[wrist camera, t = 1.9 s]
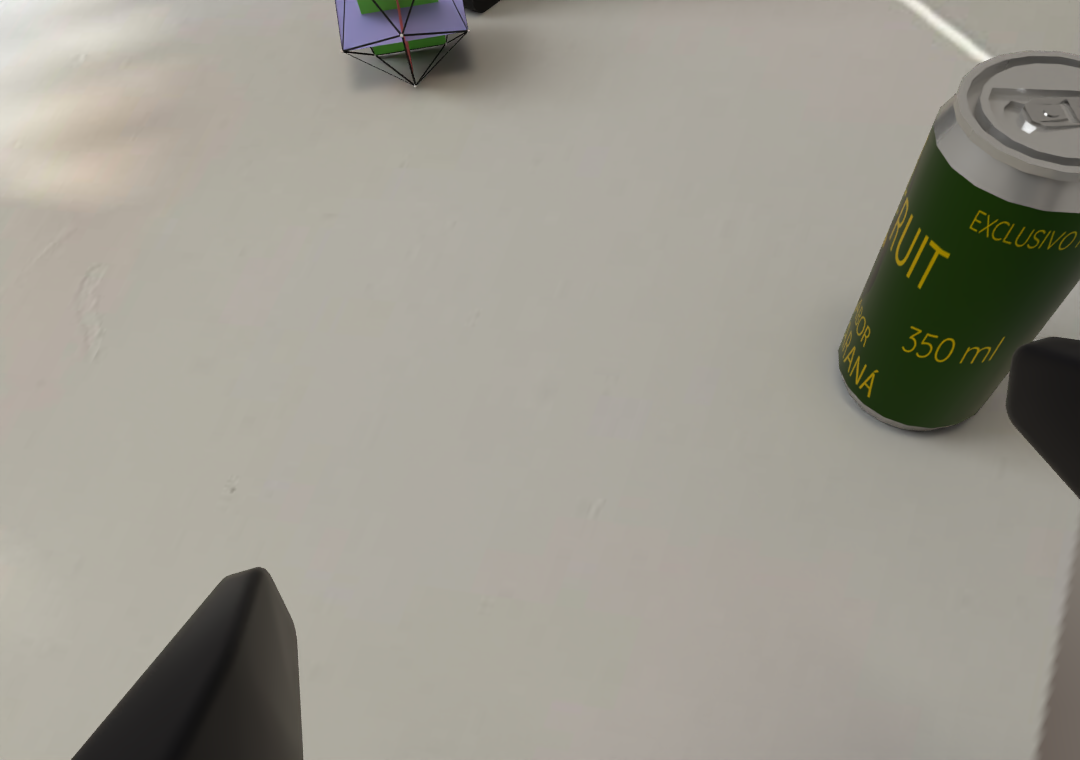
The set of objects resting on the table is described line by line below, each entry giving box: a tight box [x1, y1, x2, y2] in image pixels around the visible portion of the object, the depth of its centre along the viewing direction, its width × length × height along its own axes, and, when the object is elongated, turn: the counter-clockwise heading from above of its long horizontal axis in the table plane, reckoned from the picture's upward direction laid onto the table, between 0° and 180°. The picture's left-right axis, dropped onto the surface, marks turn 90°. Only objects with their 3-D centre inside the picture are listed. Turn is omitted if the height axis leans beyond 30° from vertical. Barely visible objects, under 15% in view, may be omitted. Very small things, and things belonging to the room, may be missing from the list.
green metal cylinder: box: [838, 51, 1080, 431], centre depth 24 cm, size 5×5×12 cm
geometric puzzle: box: [335, 0, 470, 88], centre depth 40 cm, size 7×7×8 cm
